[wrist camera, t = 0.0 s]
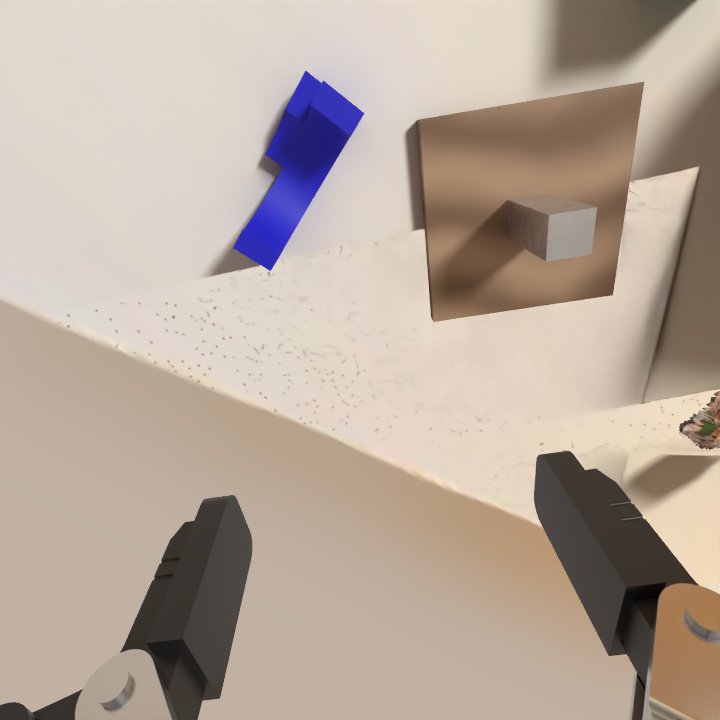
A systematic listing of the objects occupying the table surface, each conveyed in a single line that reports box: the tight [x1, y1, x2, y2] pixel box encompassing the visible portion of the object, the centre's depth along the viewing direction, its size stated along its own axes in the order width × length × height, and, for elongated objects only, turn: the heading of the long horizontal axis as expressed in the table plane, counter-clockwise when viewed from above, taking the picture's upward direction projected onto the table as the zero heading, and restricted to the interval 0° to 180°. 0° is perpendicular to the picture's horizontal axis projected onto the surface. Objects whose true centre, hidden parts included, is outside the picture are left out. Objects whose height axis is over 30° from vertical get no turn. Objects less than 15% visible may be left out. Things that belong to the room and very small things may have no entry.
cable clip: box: [233, 71, 364, 271], centre depth 30 cm, size 12×4×6 cm, turn 146°
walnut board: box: [417, 82, 644, 322], centre depth 34 cm, size 16×16×1 cm
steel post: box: [507, 194, 597, 261], centre depth 30 cm, size 3×3×8 cm
